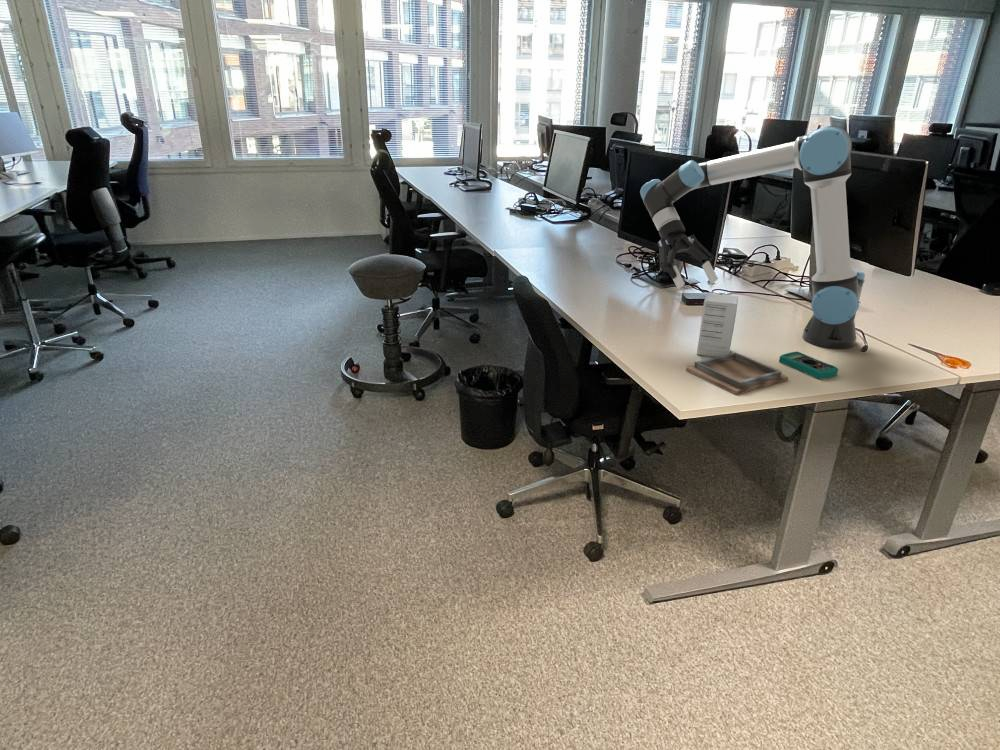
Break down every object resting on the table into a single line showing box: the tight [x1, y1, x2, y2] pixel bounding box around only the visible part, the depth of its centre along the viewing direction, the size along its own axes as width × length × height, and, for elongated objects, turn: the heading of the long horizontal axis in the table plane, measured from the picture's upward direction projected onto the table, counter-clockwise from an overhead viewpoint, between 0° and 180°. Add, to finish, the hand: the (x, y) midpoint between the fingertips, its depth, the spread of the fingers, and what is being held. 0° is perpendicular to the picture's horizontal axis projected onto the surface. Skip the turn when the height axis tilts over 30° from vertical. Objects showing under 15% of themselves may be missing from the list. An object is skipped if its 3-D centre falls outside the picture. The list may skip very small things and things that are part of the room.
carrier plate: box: [685, 352, 790, 395], centre depth 174 cm, size 20×18×2 cm
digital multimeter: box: [778, 350, 839, 380], centre depth 179 cm, size 7×15×3 cm, turn 26°
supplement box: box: [696, 292, 739, 358], centre depth 188 cm, size 10×9×17 cm
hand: (698, 284), depth 191 cm, fingers open, 13 cm apart
